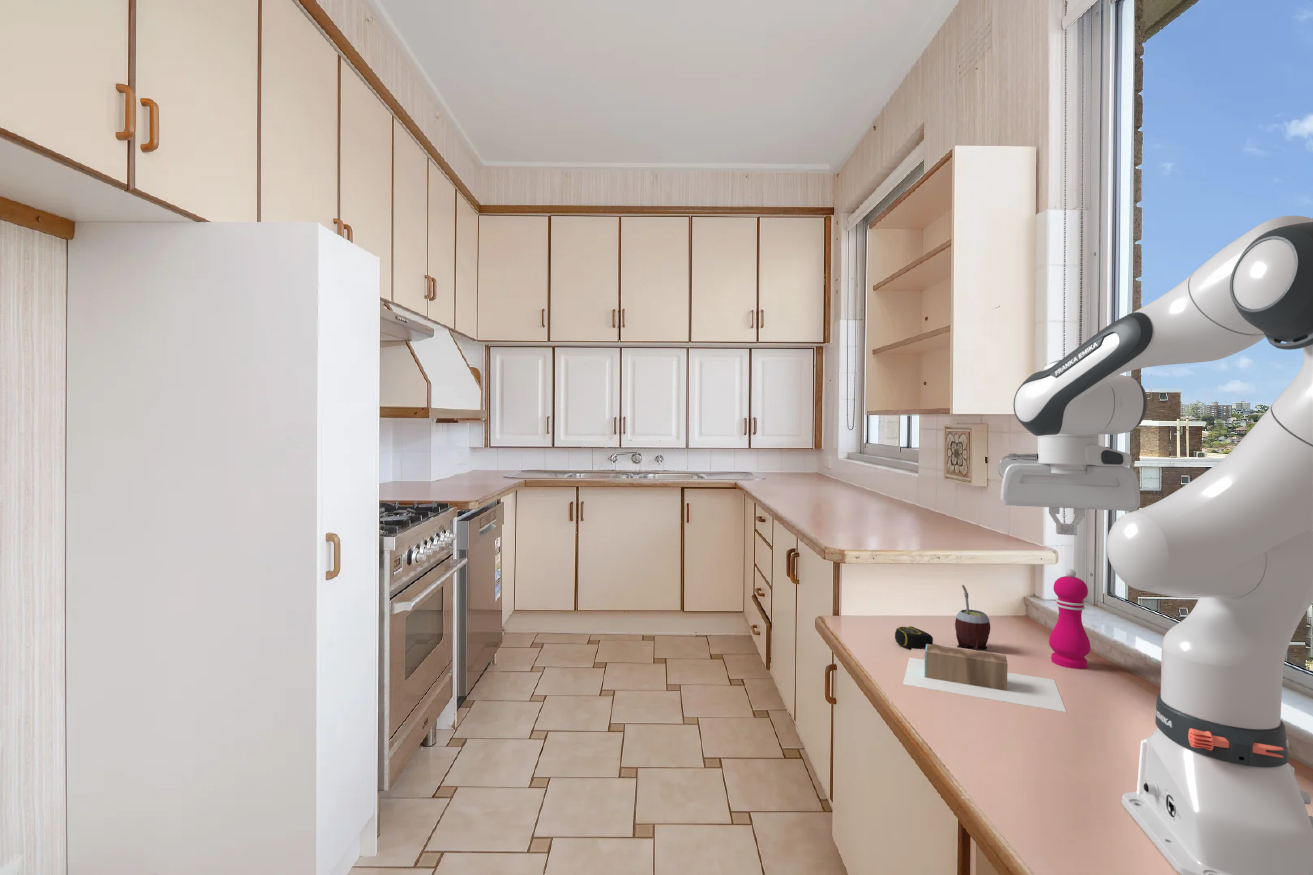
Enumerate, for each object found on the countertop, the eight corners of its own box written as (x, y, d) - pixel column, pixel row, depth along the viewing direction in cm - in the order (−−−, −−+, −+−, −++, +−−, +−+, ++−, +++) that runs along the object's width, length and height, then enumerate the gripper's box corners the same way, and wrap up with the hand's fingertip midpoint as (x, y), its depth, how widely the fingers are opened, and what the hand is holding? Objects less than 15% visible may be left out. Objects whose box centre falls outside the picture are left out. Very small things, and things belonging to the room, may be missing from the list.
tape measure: (934, 650, 142) (934, 633, 141) (908, 652, 139) (909, 635, 139) (913, 640, 148) (913, 624, 148) (888, 642, 146) (888, 626, 146)
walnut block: (1007, 663, 118) (924, 651, 124) (1007, 690, 118) (924, 677, 124) (1005, 655, 122) (926, 643, 128) (1005, 681, 122) (925, 668, 128)
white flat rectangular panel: (1066, 714, 109) (1066, 711, 109) (902, 686, 120) (903, 684, 120) (1053, 682, 123) (1054, 679, 123) (909, 659, 135) (909, 657, 135)
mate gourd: (982, 643, 146) (983, 578, 146) (997, 655, 138) (998, 586, 138) (948, 642, 146) (949, 576, 146) (961, 654, 139) (962, 585, 138)
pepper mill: (1093, 665, 133) (1095, 569, 133) (1086, 674, 127) (1088, 574, 127) (1052, 656, 138) (1054, 563, 138) (1044, 665, 132) (1046, 568, 132)
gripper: (999, 453, 112) (999, 532, 112) (1143, 455, 104) (1142, 541, 104) (997, 452, 118) (997, 528, 118) (1133, 455, 109) (1133, 536, 109)
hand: (1066, 534), depth 111 cm, fingers closed
